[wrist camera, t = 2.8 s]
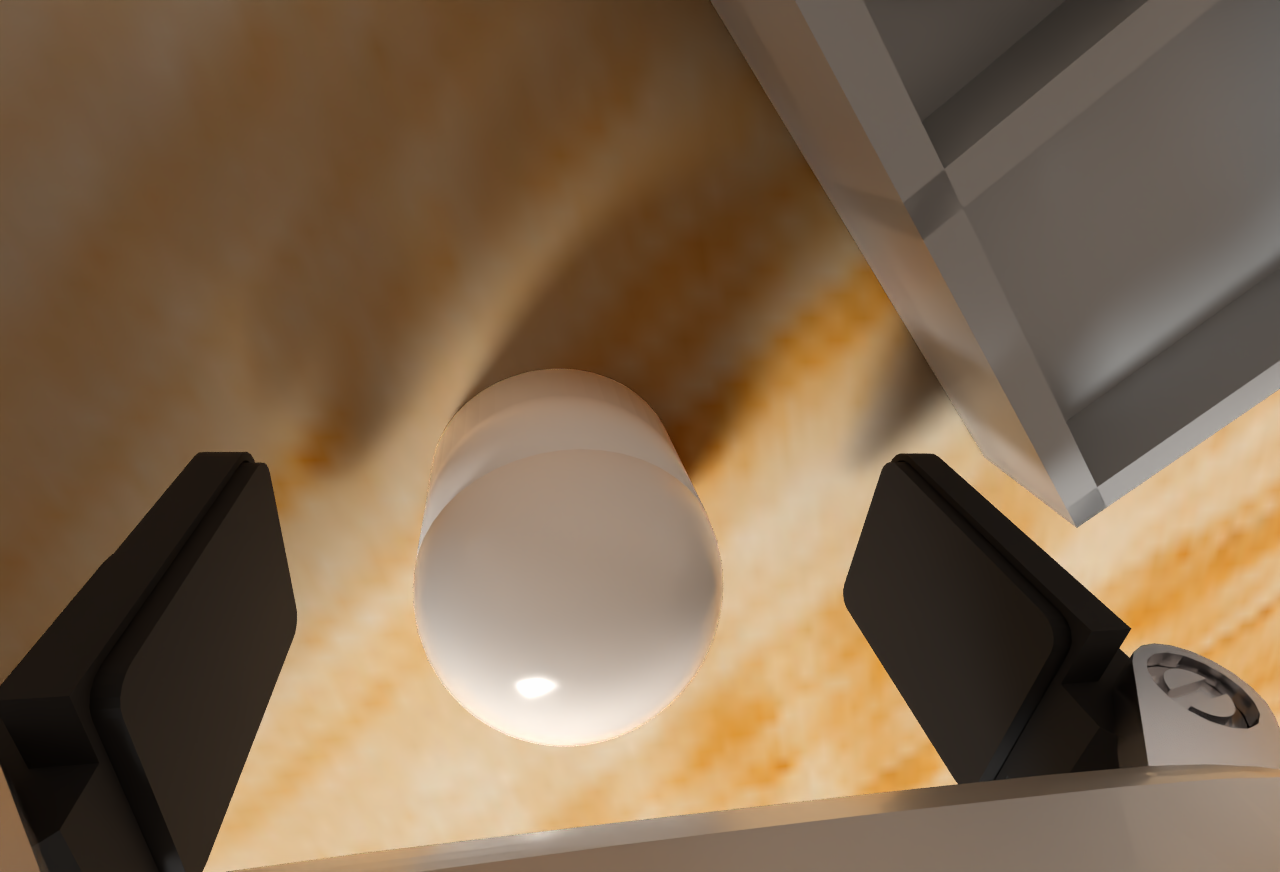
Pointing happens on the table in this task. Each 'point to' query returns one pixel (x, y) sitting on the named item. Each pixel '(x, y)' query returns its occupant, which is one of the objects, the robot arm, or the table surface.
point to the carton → (1053, 209)
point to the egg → (564, 561)
